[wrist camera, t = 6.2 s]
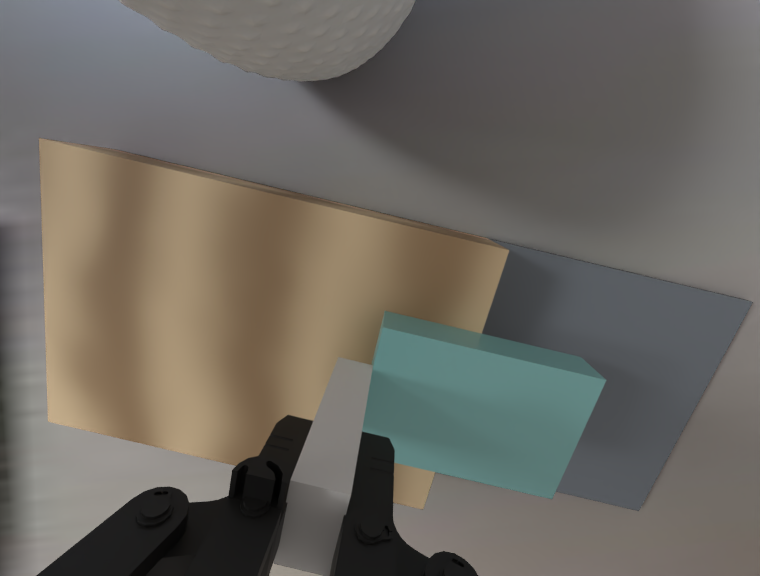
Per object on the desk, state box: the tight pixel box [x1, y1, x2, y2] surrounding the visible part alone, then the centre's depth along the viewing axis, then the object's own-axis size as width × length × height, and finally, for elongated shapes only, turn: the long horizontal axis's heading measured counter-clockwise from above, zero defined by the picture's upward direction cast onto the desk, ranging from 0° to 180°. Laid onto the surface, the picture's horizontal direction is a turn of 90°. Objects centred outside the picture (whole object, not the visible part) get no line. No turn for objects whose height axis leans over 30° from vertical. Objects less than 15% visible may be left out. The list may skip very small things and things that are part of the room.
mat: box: [482, 239, 753, 511], centre depth 20 cm, size 14×14×1 cm
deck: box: [39, 138, 509, 510], centre depth 18 cm, size 20×14×4 cm
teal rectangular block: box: [362, 311, 606, 499], centre depth 16 cm, size 9×6×2 cm, turn 77°
